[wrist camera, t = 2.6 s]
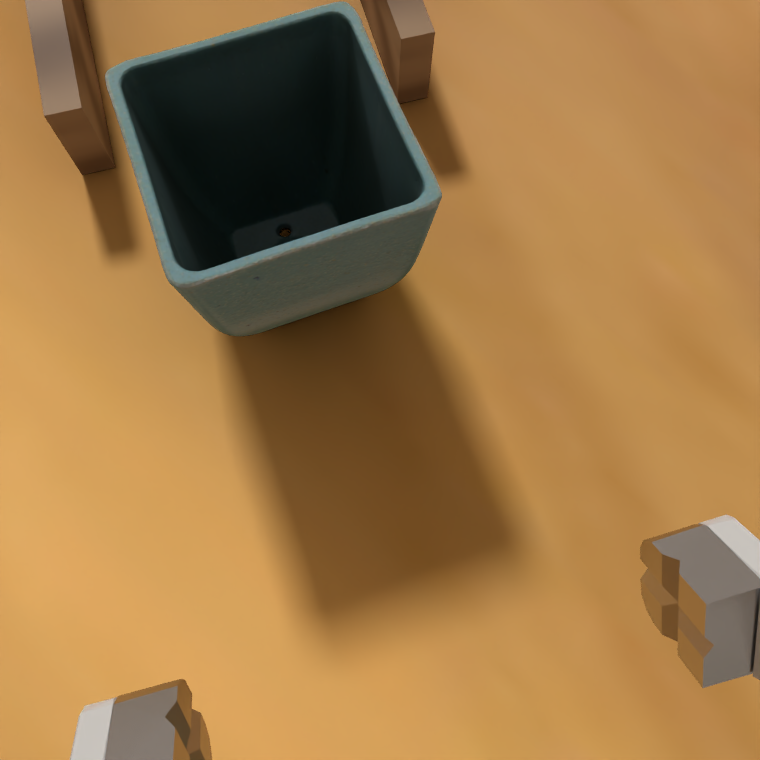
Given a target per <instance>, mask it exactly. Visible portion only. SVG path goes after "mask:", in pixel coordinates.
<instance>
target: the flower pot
mask: <svg viewBox="0 0 760 760" xmlns="http://www.w3.org/2000/svg"><path fill="white" fill-rule="evenodd" d="M105 80H106V86H107V89H108V93H109V95H110V98H111V101H112V104H113V107H114V110H115V113H116V116H117V119H118V123H119V125H120V128H121V132H122V135H123V138H124V141H125V144H126V147H127V151H128V154H129V157H130V159H131V162H132V166H133V169H134V173H135V176H136V179H137V183H138V186H139V189H140V192H141V195H142V198H143V202H144V205H145V209H146V212H147V215H148V219H149V222H150V225H151V229H152V232H153V235H154V238H155V242H156V246H157V249H158V252H159V255H160V259H161V263H162V266H163V269H164V272H165V275H166V277H167V279H168V281H169V282H170V284H171V285H172V286H174V288H175V289H176V290H177V291H178V292H179V293H180V294H181V295H182V296H183V297H184V298H185V299H186V300H187V301H188V302H189V303H190V304H191V305H192V306H193V308H194V309H195V310H196V311H197V312H199V313H200V315H201V316H202V317H203V318H204V319H205V320H206V321H207V322H208V323H209V324H210V325H212V326H213V327H214V328H215V329H217V330H219V331H220V332H222V333H225V334H228V335H232V336H248V335H254V334H258V333H261V332H264V331H267V330H270V329H273V328H275V327H278V326H281V325H284V324H287V323H290V322H293V321H296V320H299V319H302V318H305V317H308V316H311V315H314V314H317V313H319V312H322V311H325V310H328V309H331V308H334V307H337V306H340V305H343V304H346V303H349V302H352V301H355V300H358V299H361V298H364V297H367V296H370V295H373V294H376V293H378V292H381V291H383V290H385V289H387V288H389V287H391V286H393V285H394V284H396V283H397V282H398V281H400V280H401V279H402V278H403V277H404V276H405V275H406V274H407V273H408V272H409V271H410V269H411V268H412V266H413V265H414V263H415V261H416V259H417V257H418V255H419V253H420V250H421V248H422V245H423V243H424V241H425V238H426V236H427V233H428V231H429V228H430V226H431V223H432V221H433V218H434V215H435V213H436V210H437V208H438V205H439V203H440V200H441V198H442V193H441V190H440V187H439V185H438V182H437V180H436V177H435V175H434V173H433V172H432V170H431V168H430V166H429V164H428V161H427V159H426V157H425V156H424V154H423V152H422V150H421V147H420V145H419V143H418V141H417V139H416V138H415V136H414V134H413V131H412V129H411V128H410V126H409V124H408V122H407V119H406V117H405V115H404V113H403V111H402V109H401V107H400V105H399V103H398V101H397V98H396V96H395V94H394V92H393V90H392V88H391V86H390V84H389V81H388V79H387V78H386V75H385V73H384V71H383V69H382V67H381V64H380V63H379V60H378V58H377V56H376V53H375V51H374V49H373V47H372V45H371V42H370V41H369V38H368V36H367V33H366V31H365V29H364V27H363V24H362V21H361V19H360V17H359V15H358V14H357V12H356V11H355V9H354V8H353V7H352V6H350V5H349V4H348V3H347V2H334V3H331V4H327V5H322V6H318V7H315V8H312V9H309V10H305V11H302V12H298V13H294V14H290V15H288V16H285V17H281V18H278V19H275V20H271V21H268V22H264V23H261V24H257V25H254V26H251V27H247V28H243V29H240V30H237V31H232V32H229V33H225V34H223V35H220V36H217V37H213V38H210V39H206V40H204V41H199V42H196V43H192V44H189V45H184V46H180V47H177V48H172V49H170V50H165V51H162V52H158V53H154V54H150V55H146V56H142V57H138V58H134V59H131V60H127V61H124V62H122V63H120V64H118V65H116V66H114V67H112V68H110V69H109V70H108V71H107V73H106V74H105ZM282 228H289V229H290V230H291V234H290V235H289V236H287V237H282V236H281V235H280V233H279V232H280V230H281V229H282Z"/></svg>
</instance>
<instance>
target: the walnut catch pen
mask: <svg viewBox="0 0 760 760" xmlns="http://www.w3.org/2000/svg"><path fill="white" fill-rule="evenodd" d="M25 3H26V9H27V15H28V21H29V27H30V33H31V39H32V45H33V51H34V57H35V64H36V70H37V76H38V82H39V88H40V94H41V100H42V106H43V112H44V116H45V118H46V120H47V121H48V123H49V124H50V126H51V127H52V129H53V130H54V132H55V133H56V135H57V137H58V138H59V140H60V141H61V143H62V144H63V146H64V147H65V149H66V150H67V152H68V154H69V155H70V157H71V158H72V160H73V161H74V163H75V164H76V166H77V167H78V169H79V171H80V172H81V174H82V175H84V174H88V173H93V172H97V171H102V170H106V169H111V168H115V164H114V159H113V154H112V149H111V144H110V139H109V134H108V129H107V123H106V118H105V113H104V108H103V103H102V98H101V93H100V88H99V83H98V78H97V73H96V68H95V63H94V57H93V52H92V47H91V42H90V37H89V32H88V27H87V22H86V17H85V12H84V7H83V2H82V0H25ZM361 3H362V6H363V9H364V12H365V14H366V17H367V20H368V23H369V26H370V28H371V31H372V34H373V37H374V40H375V43H376V45H377V48H378V51H379V54H380V57H381V59H382V62H383V65H384V68H385V71H386V73H387V76H388V79H389V82H390V85H391V88H392V90H393V92H394V94H395V96H396V98H397V101H398V103H399V104H400V103H404V102H409V101H413V100H418V99H422V98H427V96H428V87H429V78H430V70H431V61H432V53H433V44H434V35H435V31H434V28H433V26H432V23H431V21H430V18H429V15H428V13H427V10H426V8H425V5H424V3H423V0H361Z"/></svg>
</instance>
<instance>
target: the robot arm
mask: <svg viewBox="0 0 760 760" xmlns="http://www.w3.org/2000/svg"><path fill="white" fill-rule="evenodd" d="M640 559H641V560H642V562H643V563H644V564H645V565H646V567H647V570H646V571H645V573H644V574H643V576H642V578H641V595H642V598H643V601H644V604H645V607H646V610H647V612H648V614H649V616H650V618H651V620H652V621H653V623H654V624H655V626H656V627H657V629H658V630H659V631H660V633H661V634H662V635H664V636H666V637H669V638H671V639H673V640H675V641H677V642H678V657H679V658H680V659H681V660H682V662H683V663H684V664H685V666H686V667H687V668H688V670H689V671H690V672H691V674H692V675H693V676H694V677H695V679H696V680H697V681H698V683H699V684H700V685H701V687H702V688H704V687H708V686H711V685H715V684H718V683H721V682H725V681H728V680H732V679H735V678H739V677H742V676H745V675H749V674H752V673H753V677H755V678H757V679H759V680H760V540H758V539H757V538H756V537H755V536H754V535H753V534H752V533H751V532H750V531H748V530H747V529H746V528H745V527H744V526H743V525H742V524H741V523H740V522H738V521H737V520H736V519H735V518H734V517H732V516H729V515H724V516H720V517H717V518H714V519H711V520H707V521H704V522H701V523H699V524H694V525H691V526H688V527H685V528H681V529H678V530H675V531H672V532H668V533H665V534H662V535H659V536H656V537H652V538H649V539H646V540H643V542H642V544H641V547H640ZM70 760H212V753H211V746H210V738H209V735H208V731H207V727H206V724H205V722H204V719H203V717H202V715H201V713H200V712H198V711H196V710H193V709H192V693H191V691H190V689H189V687H188V685H187V683H186V681H185V680H183V679H179V680H175V681H171V682H168V683H164V684H160V685H157V686H153V687H149V688H146V689H142V690H138V691H135V692H131V693H127V694H124V695H120V696H118V697H115V698H111V699H108V700H104V701H100V702H97V703H93V704H89V705H86V706H85V707H84V708H83V710H82V712H81V713H80V715H79V718H78V723H77V728H76V733H75V737H74V742H73V747H72V752H71V756H70Z"/></svg>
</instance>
